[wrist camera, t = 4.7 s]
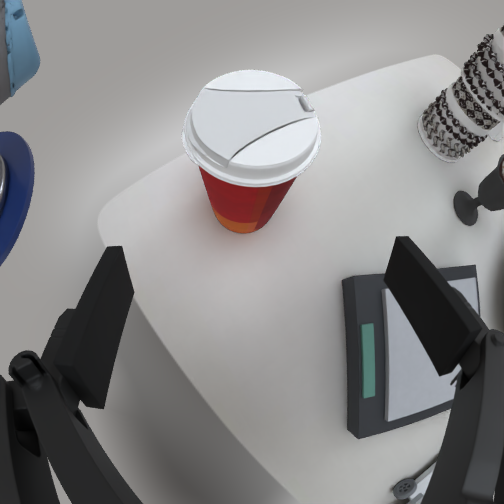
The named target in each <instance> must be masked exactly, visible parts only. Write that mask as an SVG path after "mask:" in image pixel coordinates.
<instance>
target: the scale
mask: <svg viewBox="0 0 504 504" xmlns="http://www.w3.org/2000/svg"><path fill="white" fill-rule="evenodd" d="M437 270H438V271H439V272H440V273H441V274H442V276H443V277H444V278H445V279H446V280H447V282H448V283H449V284H450V285H451V287H455V288H456V289H457V290H458V291H460V292H461V293H462V294H463V295H464V297H465V298H466V299H467V302H469V303H470V304H471V306H472V308H474V310H475V311H476V312H477V314H478V315H479V316H480V303H479V291H478V281H477V272H476V265H468V266H459V267H450V268H440V269H437ZM384 276H385V274H372V275H360V276H352V277H349V278H346V279H343V280H342V286H343V298H344V311H345V327H346V347H347V382H348V419H347V430H348V431H350V432H351V433H352V434H353V435H354V436H355V437H356V438H357V439H361V438H365V437H369V436H372V435H376V434H380V433H383V432H387V431H390V430H393V429H396V428H399V427H403V426H406V425H409V424H412V423H414V422H417V421H420V420H423V419H425V418H428V417H431V416H433V415H436V414H438V413H441V412H443V411H446V410H448V409H451V408H452V403H453V399H454V394H455V388H456V387H455V385H456V383H457V380H456V381H455V382H454V383H453V385H450V383H451V381H452V380H453V379H454V377H455V376H456V375H457V374H458V372H459V371H460V370H461V367H460V365H459V364H458V365H457V366H456V368H455V369H454V370H453V372H452V373H449V374H446V375H443V376H440V377H439V375H438V373H437V371H436V369H435V367H434V366H433V364H432V362H431V360H430V358H429V356H428V354H427V353H426V351H425V349H424V347H423V345H422V344H421V342H420V340H419V338H418V337H417V335H416V333H415V331H414V330H413V328H412V326H411V324H410V323H409V321H408V319H407V318H406V316H405V314H404V313H403V311H402V309H401V308H400V306H399V304H398V303H397V301H396V300H395V298H394V296H393V295H392V293H391V292H390V290H389V288H388V287H387V285H386V284H385V282H384V281H383V279H384Z"/></svg>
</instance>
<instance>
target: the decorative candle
mask: <svg viewBox="0 0 504 504" xmlns="http://www.w3.org/2000/svg"><path fill="white" fill-rule="evenodd" d="M491 39H492V41H491V42H490V40H491ZM489 42H490V43H489ZM484 48H485V49H484ZM483 49H484V51H483ZM464 66H465V67H463V68H462V70H461V76H460V77H459V78H458V79H457V81H456V82H454V83H452V84H451V85H450V86H449V87H448V88H446V89H445V90H442V91H441V95H440V96H439V97H436V101H435V102H433V103H431V104H430V105H429V108H428V109H426V110H425V111H424V113H423V115H421V116H420V118H419V120H418V131H419V133H420V136H421V138H422V140H423V142H424V143H425V145H426V146H427V147H428V149H429V150H430V151H431V152H432V153H433V154H435V155H436V156H437V157H438V158H439V159H441V160H444V161H446V162H456V161H457V160H458V159H460V158H461V157H464V154H465V153H467V152H468V153H469V152H470V148H471V149H473V148H474V146H475V147H476V146H478V143H480V142H481V141H484V140H485V138H487V134H488V133H490V132H491V131H492V130H493V129H494V127H495V126H496V125H497V124H498V123H500V122H504V26H503V27H501V28H498V29H497V31H496V32H495V33H494V34H491V35H490V34H487V35H486V37H484V42H481V44H478V50H477V53H476V52H474V53H473V55H471V56H470V60H468V62H465V63H464ZM481 136H482V137H481Z"/></svg>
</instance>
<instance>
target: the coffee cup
mask: <svg viewBox="0 0 504 504" xmlns="http://www.w3.org/2000/svg"><path fill="white" fill-rule="evenodd" d="M181 135H182V141H183V145H184V148H185V150H186V153H187V154H188V156H189V157H190V159H191V161H193V162H194V163H196V164H197V165H199V169H200V172H201V175H202V178H203V181H204V184H205V187H206V190H207V193H208V197H209V199H210V202H211V205H212V208H213V211H214V213H215V215H216V217H217V219H218V220H219V222H220V223H221V224H222V225H223V226H224V227H226V228H227V229H229V230H231V231H233V232H237V233H250V232H254V231H256V230H258V229H260V228H262V227H263V226H264V225H265V224H266V223H267V222H268V221H269V219H270V218H271V217H272V215H273V214H274V212H275V211H276V209H277V207H278V206H279V204H280V203H281V201H282V200H283V198H284V196H285V195H286V193H287V192H288V190H289V188H290V187H291V185H292V184H293V182H294V180H295V179H296V177H297V176H298V175H299V174H301V173H302V172H303V171H305V170H306V169H307V168H308V167H309V165H310V164H311V163H312V162H313V160H314V159H315V157H316V155H317V153H318V150H319V147H320V143H321V128H320V124H319V121H318V117H317V116H316V114H315V110H314V108H313V106H312V104H311V103H310V101H309V99H308V97H307V96H306V95H304V94H303V93H302V89H301V88H300V87H299V86H298V85H297V84H296V83H294V82H292V81H291V80H289V79H287V78H285V77H283V76H281V75H278V74H275V73H271V72H267V71H261V70H241V71H235V72H231V73H227V74H225V75H222V76H219V77H217V78H216V79H214V80H212V81H211V82H209V83H208V84H207V85H205V86H204V87H203V88H202V90H201V92H200V93H199V95H198V96H197V99H196V100H195V101H194V103H193V105H192V106H191V107H190V109H189V111H188V113H187V115H186V119H185V123H184V127H183V130H182V134H181Z"/></svg>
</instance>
